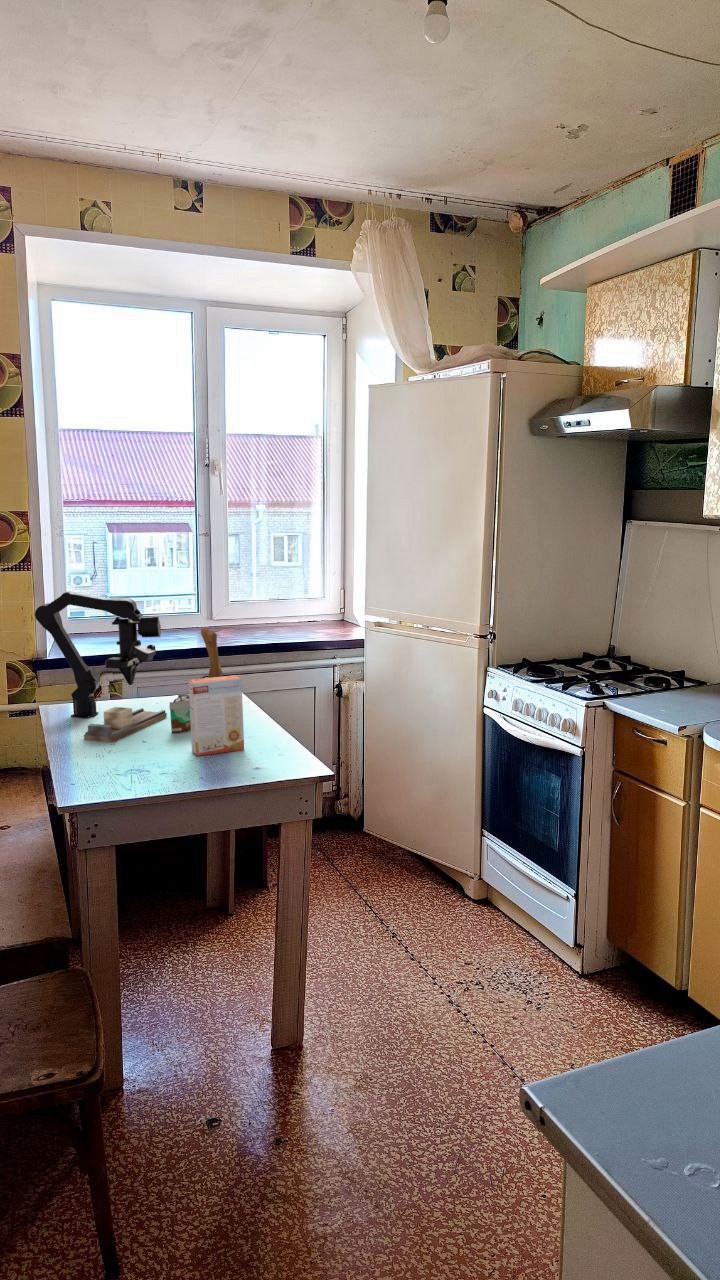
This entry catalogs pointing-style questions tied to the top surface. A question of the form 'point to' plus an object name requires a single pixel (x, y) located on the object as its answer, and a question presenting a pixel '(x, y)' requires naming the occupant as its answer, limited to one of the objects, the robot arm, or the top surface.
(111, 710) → the slider block
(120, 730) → the slider track
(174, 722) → the food container
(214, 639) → the tan tall curved piece
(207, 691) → the cracker box
